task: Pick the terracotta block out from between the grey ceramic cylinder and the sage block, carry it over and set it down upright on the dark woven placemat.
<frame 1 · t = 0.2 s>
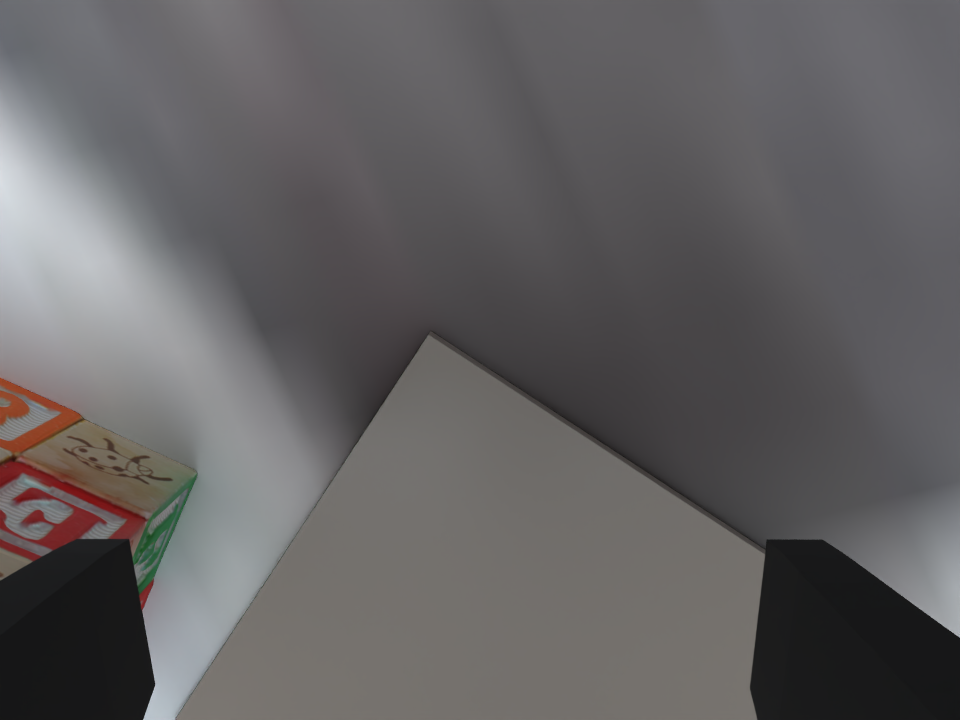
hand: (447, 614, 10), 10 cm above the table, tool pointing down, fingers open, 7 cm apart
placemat: (570, 706, 22), on the table
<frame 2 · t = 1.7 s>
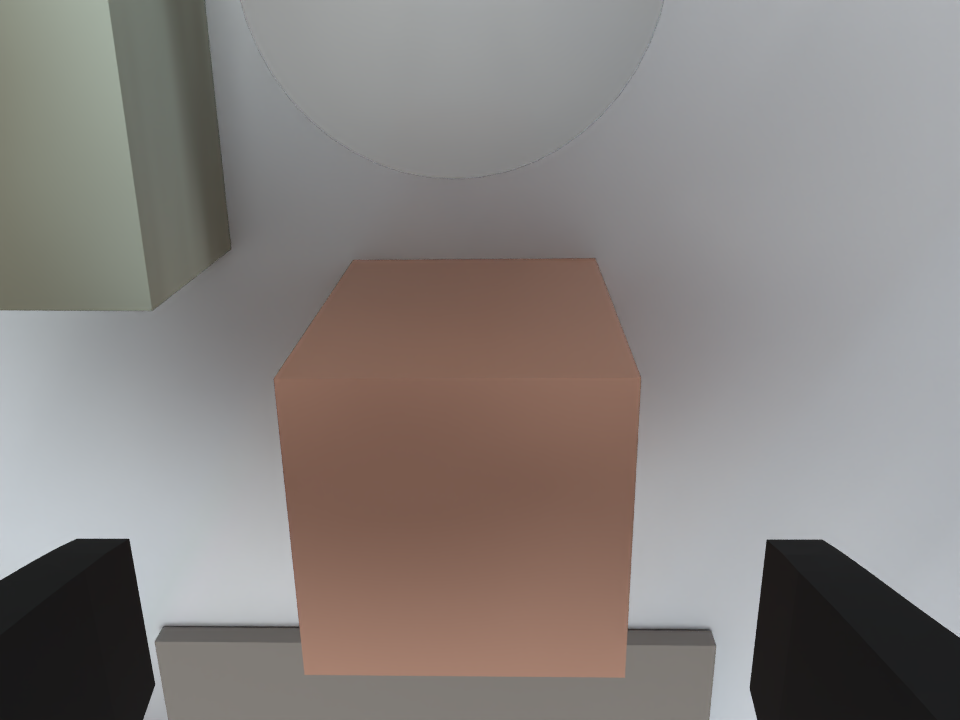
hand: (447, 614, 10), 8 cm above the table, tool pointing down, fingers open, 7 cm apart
sage block: (80, 110, 16), on the table
terracotta block: (475, 371, 17), on the table
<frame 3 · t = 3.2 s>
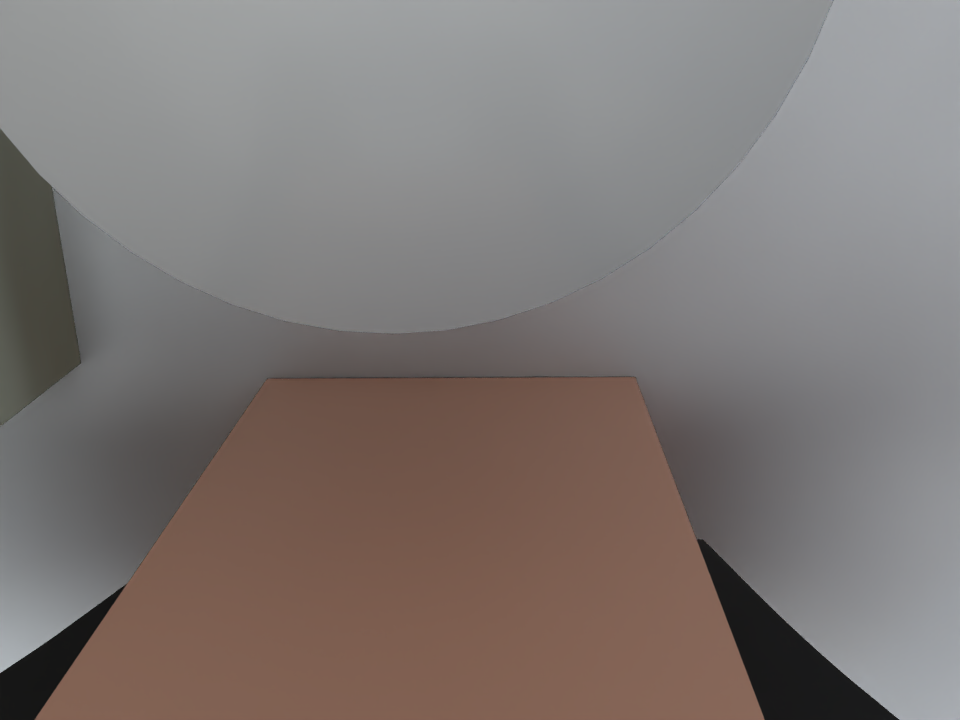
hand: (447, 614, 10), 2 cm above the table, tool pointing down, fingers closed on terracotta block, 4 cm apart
terracotta block: (454, 537, 12), on the table, touching gripper
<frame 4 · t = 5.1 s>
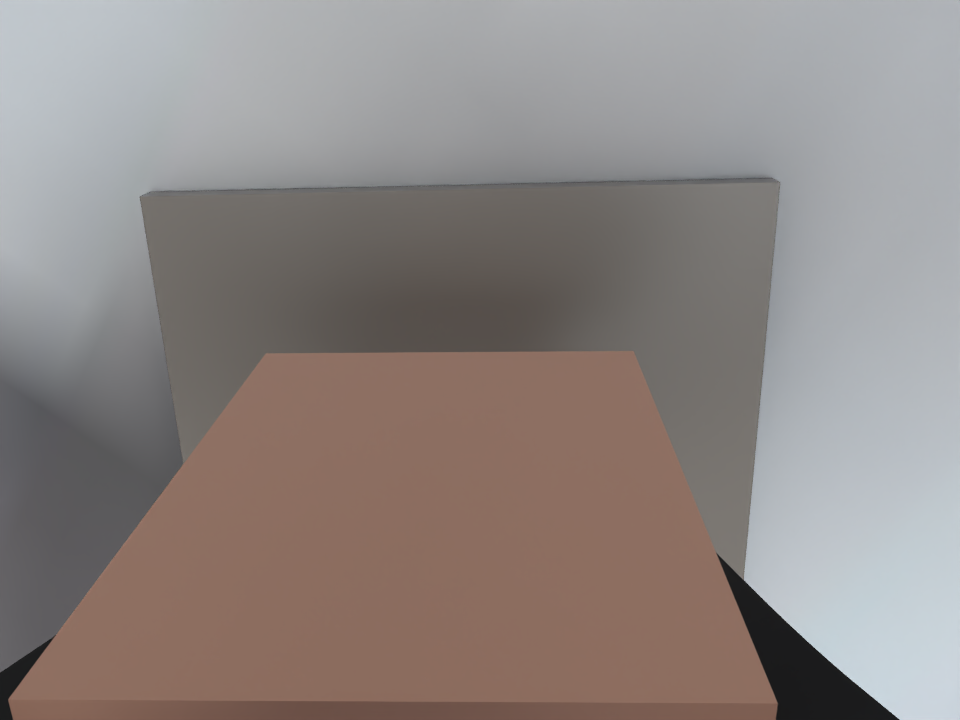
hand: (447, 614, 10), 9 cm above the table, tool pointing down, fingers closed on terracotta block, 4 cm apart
terracotta block: (453, 513, 12), point 7 cm above the table, touching gripper
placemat: (469, 543, 20), on the table
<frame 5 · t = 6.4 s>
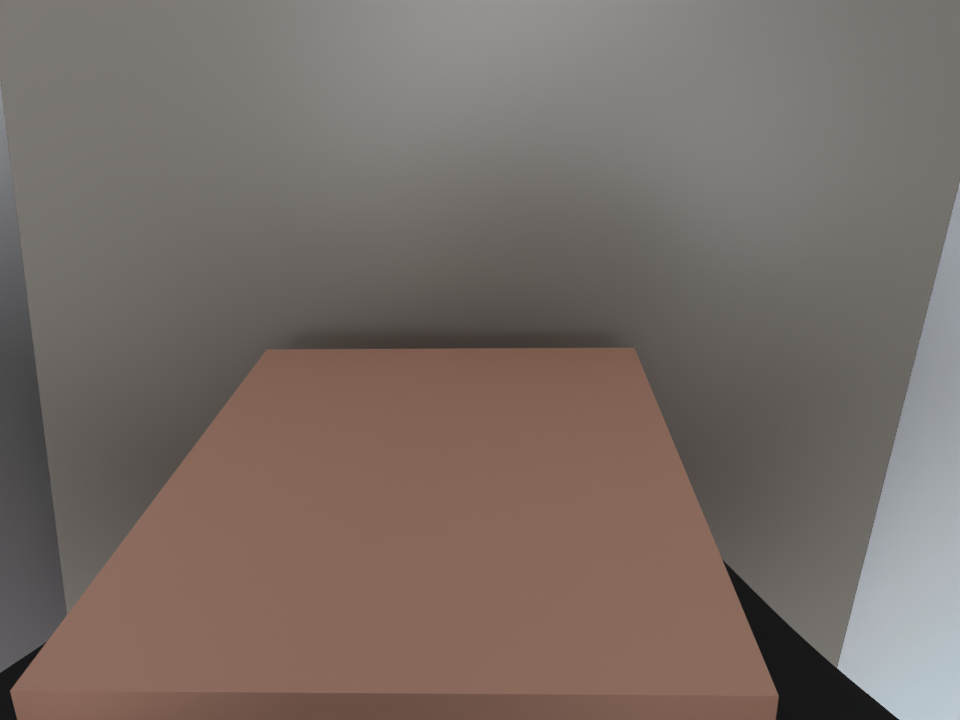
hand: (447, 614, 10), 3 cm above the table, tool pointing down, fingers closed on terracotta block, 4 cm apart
terracotta block: (454, 510, 12), point 2 cm above the table, touching gripper
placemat: (462, 472, 13), on the table
when the fingers open (3 cm above the table, at t = 7.3 s): terracotta block stays where it is, resting on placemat.
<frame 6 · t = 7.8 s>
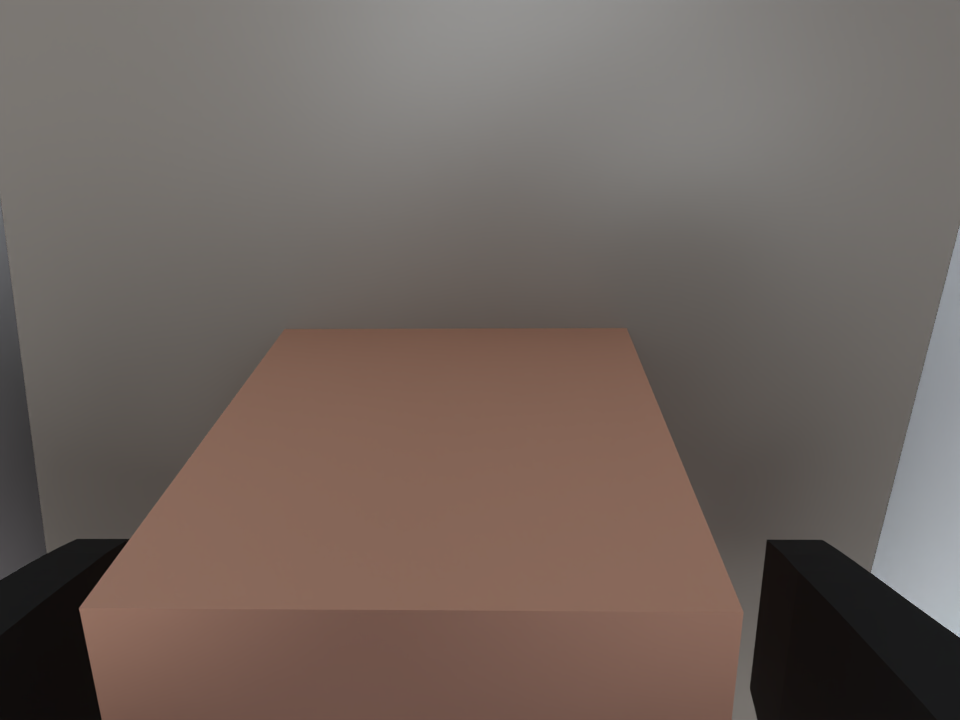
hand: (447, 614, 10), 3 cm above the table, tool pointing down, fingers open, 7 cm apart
terracotta block: (458, 480, 12), resting on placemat
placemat: (460, 482, 13), on the table
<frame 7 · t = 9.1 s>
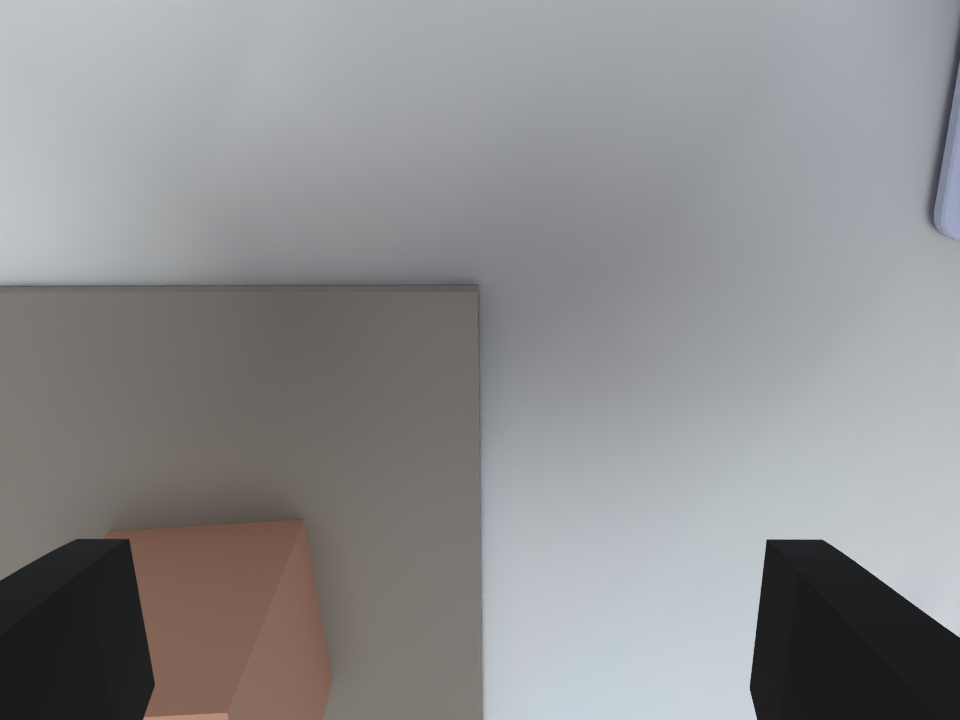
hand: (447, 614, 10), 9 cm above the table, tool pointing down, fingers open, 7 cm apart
terracotta block: (224, 609, 21), resting on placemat
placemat: (232, 607, 21), on the table
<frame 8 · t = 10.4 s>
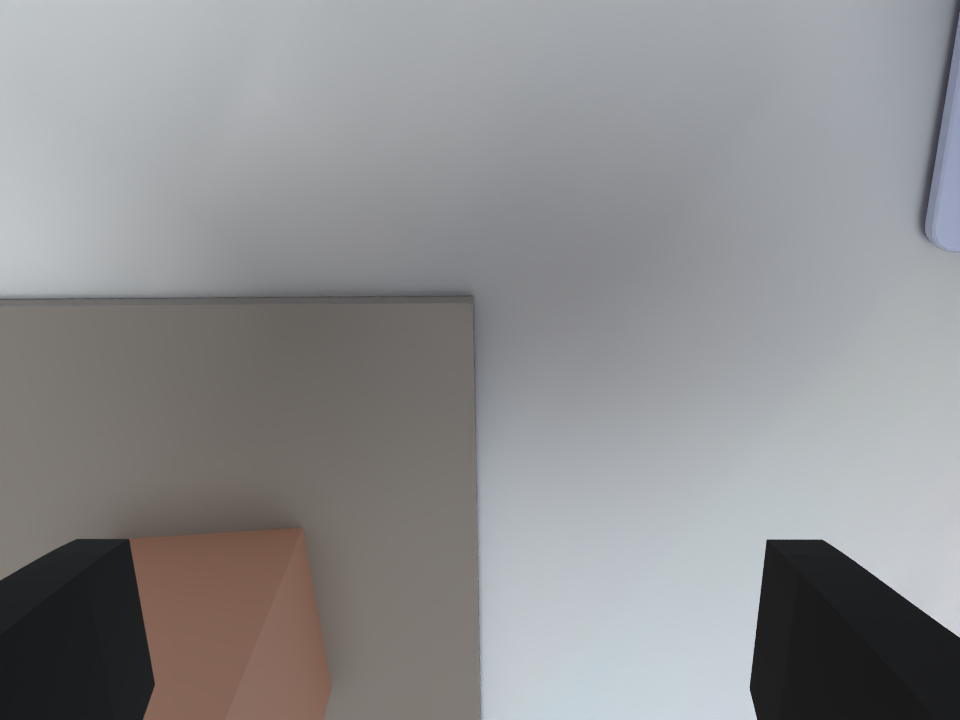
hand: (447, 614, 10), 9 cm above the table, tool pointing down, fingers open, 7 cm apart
terracotta block: (224, 615, 21), resting on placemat
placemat: (232, 613, 21), on the table
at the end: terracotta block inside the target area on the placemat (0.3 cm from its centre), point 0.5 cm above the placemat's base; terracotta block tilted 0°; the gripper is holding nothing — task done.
